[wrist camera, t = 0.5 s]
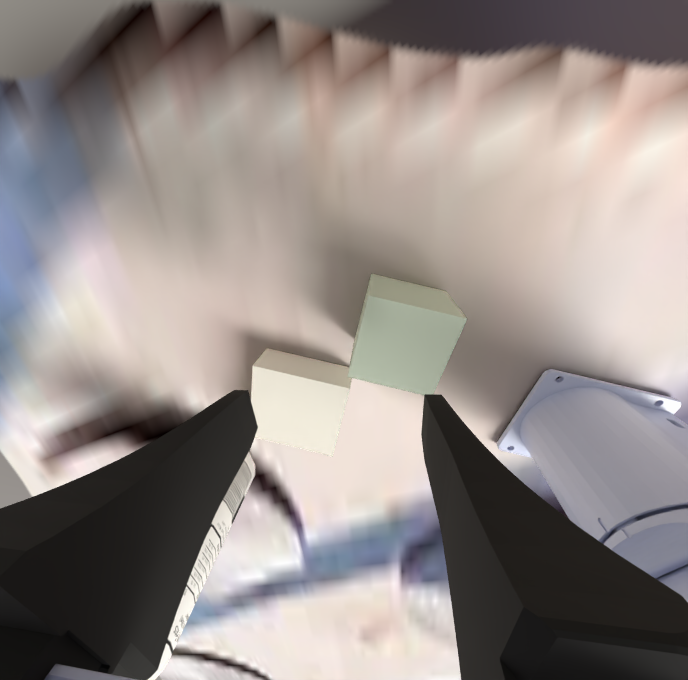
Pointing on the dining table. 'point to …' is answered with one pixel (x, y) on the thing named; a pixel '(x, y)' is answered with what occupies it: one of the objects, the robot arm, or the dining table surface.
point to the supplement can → (208, 554)
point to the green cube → (405, 335)
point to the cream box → (299, 400)
